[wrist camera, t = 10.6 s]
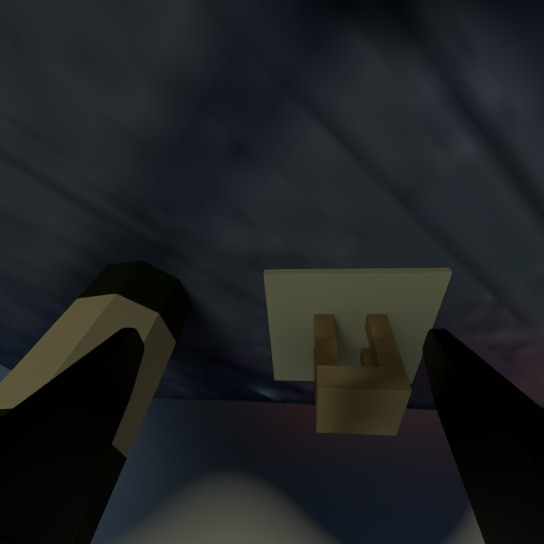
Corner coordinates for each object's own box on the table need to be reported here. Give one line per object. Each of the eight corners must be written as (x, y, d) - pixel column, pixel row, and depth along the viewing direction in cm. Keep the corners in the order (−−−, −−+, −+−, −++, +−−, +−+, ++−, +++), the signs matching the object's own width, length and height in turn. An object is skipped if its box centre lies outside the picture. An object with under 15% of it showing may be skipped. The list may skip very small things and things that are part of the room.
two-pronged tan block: (386, 314, 25) (412, 390, 19) (376, 359, 28) (396, 435, 23) (313, 314, 25) (317, 388, 20) (313, 358, 29) (316, 432, 23)
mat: (449, 267, 22) (452, 272, 22) (410, 378, 31) (412, 383, 30) (264, 269, 24) (263, 274, 23) (274, 375, 32) (274, 380, 31)
